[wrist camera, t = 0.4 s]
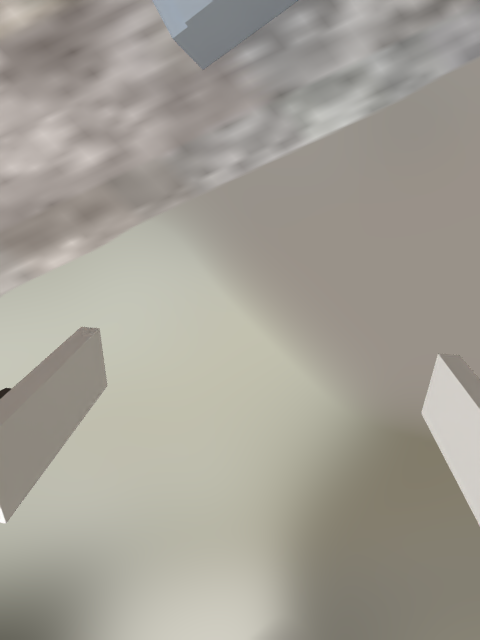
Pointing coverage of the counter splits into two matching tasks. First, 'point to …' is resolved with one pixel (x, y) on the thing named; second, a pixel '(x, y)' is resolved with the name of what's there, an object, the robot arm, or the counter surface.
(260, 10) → the grey u-shaped block
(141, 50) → the counter surface
